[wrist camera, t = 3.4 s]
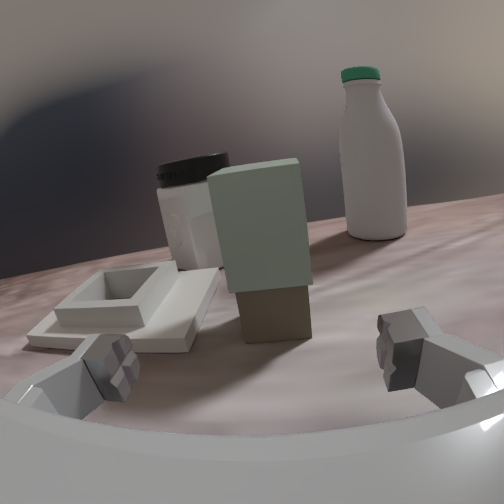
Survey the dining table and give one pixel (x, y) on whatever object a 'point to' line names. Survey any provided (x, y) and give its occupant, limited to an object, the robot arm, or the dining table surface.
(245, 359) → the dining table surface
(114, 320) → the socket
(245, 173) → the plug
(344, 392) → the dining table surface
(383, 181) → the milk bottle
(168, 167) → the jar
